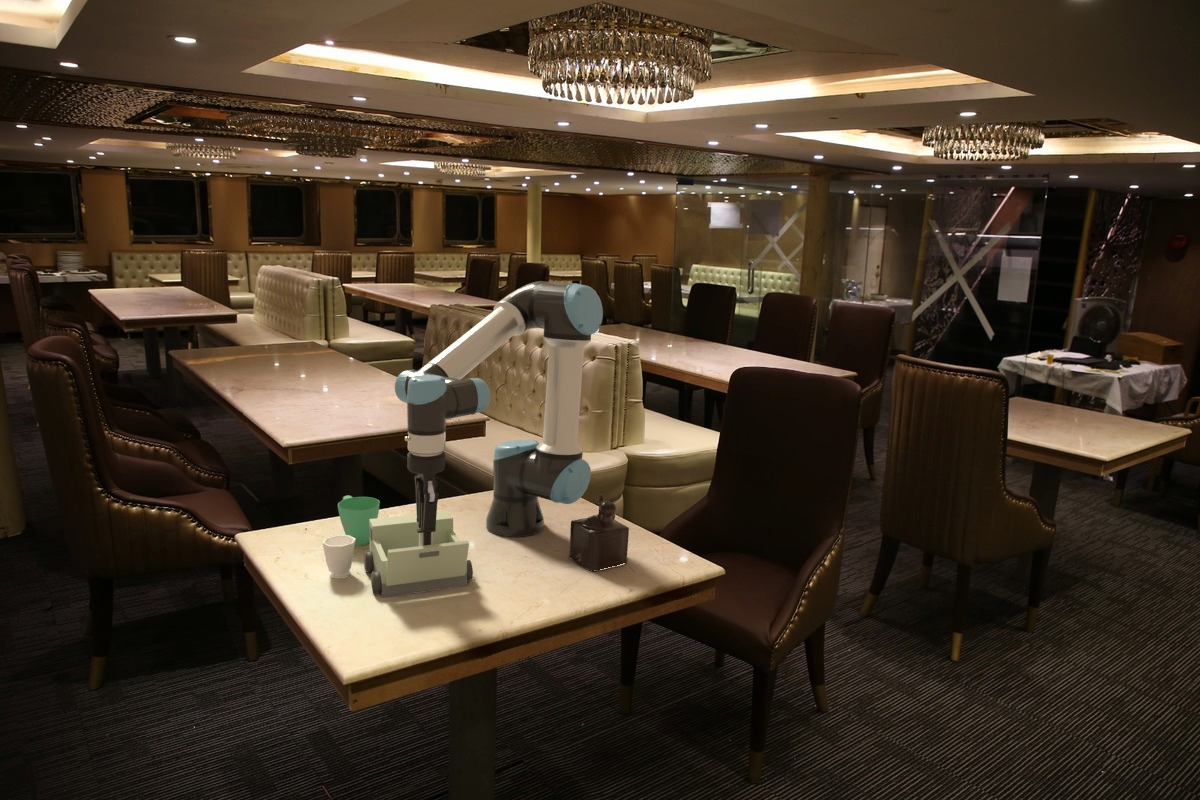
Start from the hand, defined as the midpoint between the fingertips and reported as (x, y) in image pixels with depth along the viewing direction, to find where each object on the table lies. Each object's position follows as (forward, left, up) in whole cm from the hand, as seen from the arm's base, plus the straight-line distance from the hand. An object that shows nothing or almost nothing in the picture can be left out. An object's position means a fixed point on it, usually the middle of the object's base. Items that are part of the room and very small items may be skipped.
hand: (425, 559), depth 165 cm
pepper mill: (-42, -2, -8) cm, 43 cm away
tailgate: (0, -1, -5) cm, 5 cm away
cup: (+16, -17, -8) cm, 25 cm away
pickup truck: (0, -10, -8) cm, 13 cm away
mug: (+10, -36, -8) cm, 38 cm away
